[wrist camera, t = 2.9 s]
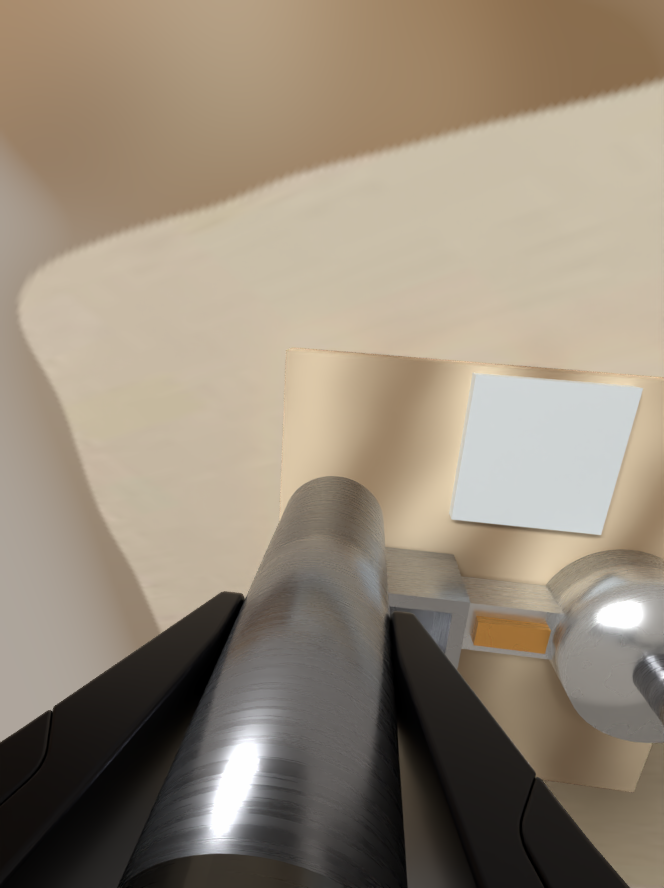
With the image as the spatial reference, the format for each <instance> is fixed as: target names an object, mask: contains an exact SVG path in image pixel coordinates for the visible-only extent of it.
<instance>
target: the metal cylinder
mask: <svg viewBox="0 0 664 888" xmlns="http://www.w3.org/2000/svg"><path fill="white" fill-rule="evenodd" d="M117 888H408V884H407V869H406V853H405V838H404V823H403V808H402V792H401V777H400V762H399V747H398V731H397V716H396V701H395V687H394V673H393V658H392V642H391V627H390V610H389V594H388V579H387V564H386V549H385V533H384V520H383V513H382V510H381V507H380V505H379V503H378V501H377V499H376V498H375V497H374V495H373V494H372V493H371V492H370V491H369V490H368V489H367V488H365V487H364V486H363V485H361V484H359V483H358V482H356V481H353V480H351V479H348V478H344V477H338V476H325V477H320V478H316V479H313V480H311V481H309V482H307V483H305V484H303V485H302V486H301V487H299V488H298V489H297V490H296V491H295V492H294V494H293V495H292V496H291V498H290V499H289V501H288V503H287V506H286V508H285V510H284V512H283V515H282V517H281V519H280V521H279V524H278V526H277V528H276V531H275V533H274V535H273V537H272V540H271V542H270V544H269V546H268V549H267V551H266V553H265V555H264V558H263V560H262V562H261V564H260V567H259V569H258V571H257V573H256V576H255V578H254V580H253V582H252V585H251V587H250V589H249V591H248V594H247V596H246V598H245V600H244V603H243V605H242V607H241V609H240V612H239V614H238V616H237V618H236V621H235V623H234V625H233V627H232V630H231V632H230V634H229V636H228V639H227V641H226V643H225V645H224V648H223V650H222V652H221V654H220V657H219V659H218V661H217V663H216V666H215V668H214V670H213V672H212V675H211V677H210V679H209V682H208V684H207V686H206V688H205V691H204V693H203V695H202V697H201V700H200V702H199V704H198V706H197V709H196V711H195V713H194V715H193V718H192V720H191V722H190V724H189V727H188V729H187V731H186V733H185V736H184V738H183V740H182V742H181V745H180V747H179V749H178V751H177V754H176V756H175V758H174V760H173V763H172V765H171V767H170V769H169V772H168V774H167V776H166V778H165V781H164V783H163V785H162V787H161V790H160V792H159V794H158V796H157V799H156V801H155V803H154V805H153V808H152V810H151V812H150V814H149V817H148V819H147V821H146V824H145V826H144V828H143V830H142V833H141V835H140V837H139V839H138V842H137V844H136V846H135V848H134V851H133V853H132V855H131V857H130V860H129V862H128V864H127V866H126V869H125V871H124V873H123V875H122V878H121V880H120V882H119V884H118V887H117Z"/></svg>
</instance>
